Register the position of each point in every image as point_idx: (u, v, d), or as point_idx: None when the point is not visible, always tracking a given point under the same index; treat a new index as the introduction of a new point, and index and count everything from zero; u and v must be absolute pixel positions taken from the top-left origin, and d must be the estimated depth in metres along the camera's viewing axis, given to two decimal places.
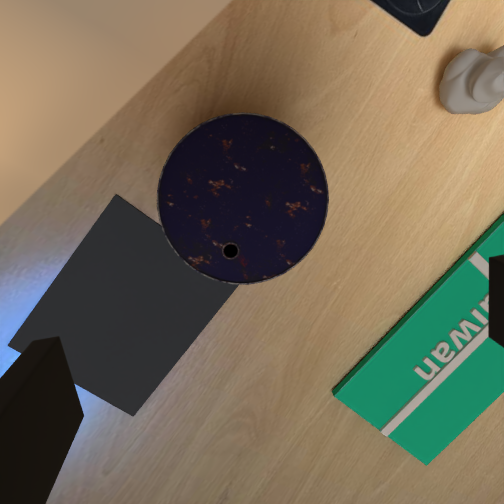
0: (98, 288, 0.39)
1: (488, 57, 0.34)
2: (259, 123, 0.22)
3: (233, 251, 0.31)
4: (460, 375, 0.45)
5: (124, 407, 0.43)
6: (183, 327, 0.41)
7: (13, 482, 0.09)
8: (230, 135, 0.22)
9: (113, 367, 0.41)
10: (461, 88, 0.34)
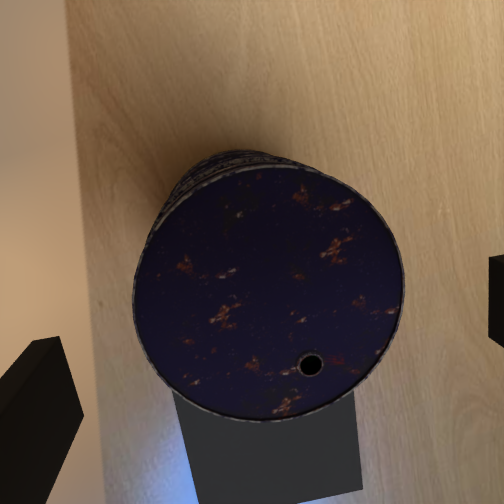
0: (226, 419, 0.33)
1: None
2: (196, 205, 0.14)
3: None
4: None
5: (347, 488, 0.36)
6: None
7: (13, 481, 0.09)
8: (179, 252, 0.14)
9: (304, 466, 0.35)
10: None
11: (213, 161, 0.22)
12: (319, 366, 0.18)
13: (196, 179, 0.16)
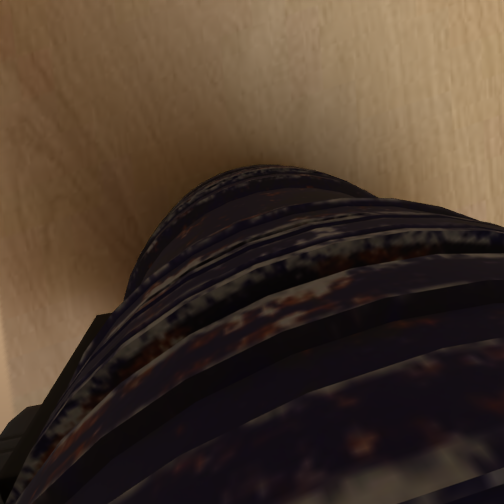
0: None
1: None
2: None
3: None
4: None
5: None
6: None
7: None
8: None
9: None
10: None
11: (226, 194, 0.11)
12: None
13: (177, 318, 0.04)
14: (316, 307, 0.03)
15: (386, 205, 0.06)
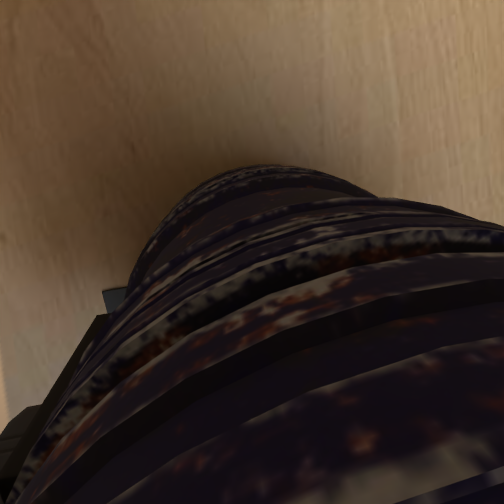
0: None
1: None
2: None
3: None
4: None
5: None
6: None
7: None
8: None
9: None
10: None
11: (226, 194, 0.11)
12: None
13: (178, 317, 0.04)
14: (317, 306, 0.03)
15: (386, 205, 0.06)
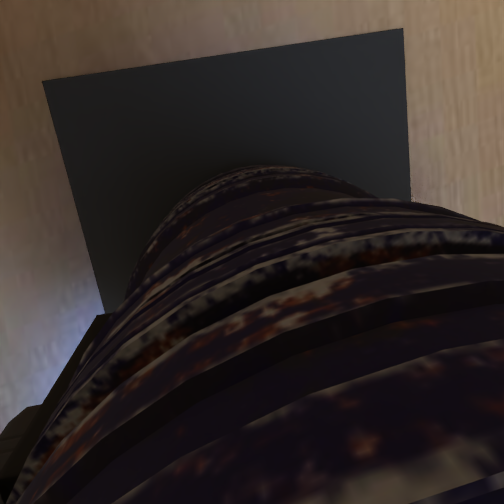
0: None
1: None
2: None
3: None
4: None
5: None
6: None
7: None
8: None
9: None
10: None
11: (226, 195, 0.11)
12: None
13: (178, 318, 0.04)
14: (317, 308, 0.03)
15: (387, 205, 0.06)
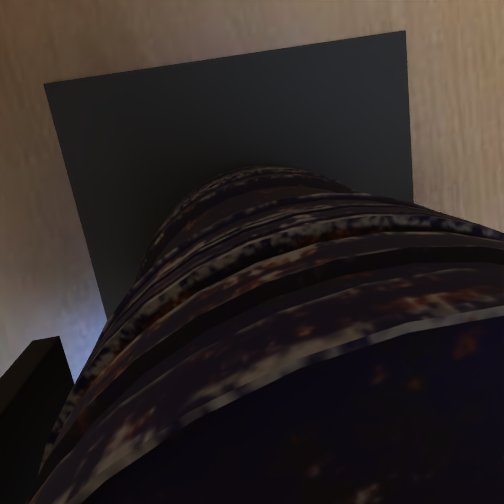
0: None
1: None
2: (178, 476, 0.03)
3: None
4: None
5: None
6: None
7: (13, 482, 0.09)
8: None
9: None
10: None
11: (226, 192, 0.12)
12: None
13: (188, 283, 0.05)
14: (290, 267, 0.04)
15: (359, 199, 0.07)
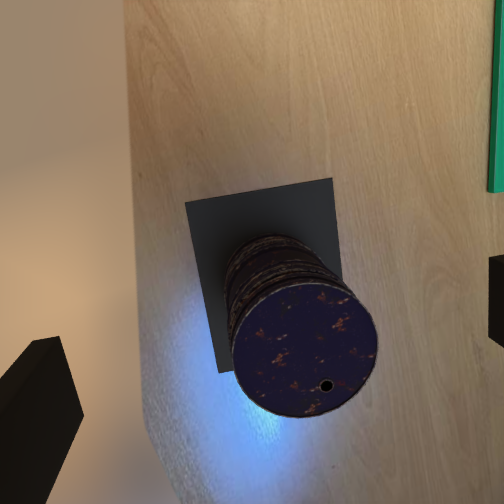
0: None
1: None
2: (267, 303, 0.26)
3: None
4: None
5: None
6: (322, 251, 0.41)
7: (13, 481, 0.09)
8: (257, 326, 0.26)
9: None
10: None
11: (261, 251, 0.35)
12: (330, 385, 0.30)
13: (262, 281, 0.28)
14: (280, 278, 0.27)
15: (298, 261, 0.30)
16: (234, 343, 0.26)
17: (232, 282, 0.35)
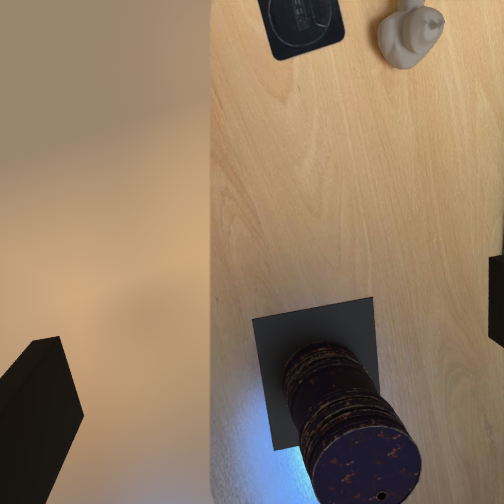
0: None
1: (402, 14, 0.37)
2: (340, 440, 0.34)
3: None
4: None
5: None
6: (363, 354, 0.50)
7: (13, 482, 0.09)
8: (332, 456, 0.35)
9: None
10: (403, 52, 0.38)
11: (320, 370, 0.43)
12: None
13: (332, 415, 0.37)
14: (347, 416, 0.36)
15: (356, 392, 0.39)
16: (314, 469, 0.35)
17: (296, 394, 0.43)
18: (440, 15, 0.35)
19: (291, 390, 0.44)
